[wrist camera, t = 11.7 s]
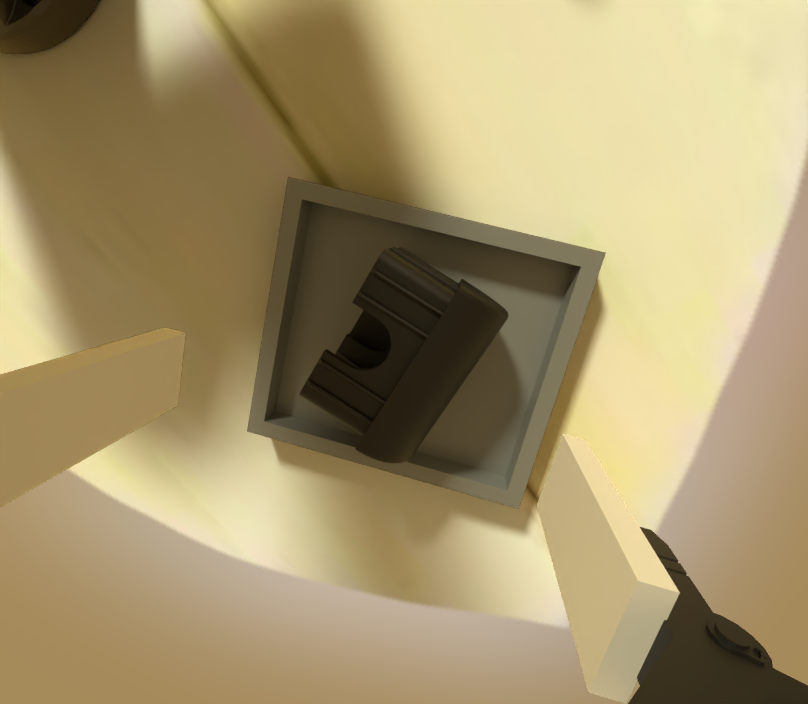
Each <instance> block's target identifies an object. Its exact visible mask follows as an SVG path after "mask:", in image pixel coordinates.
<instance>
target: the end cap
mask: <svg viewBox="0 0 808 704" xmlns="http://www.w3.org/2000/svg"><path fill="white" fill-rule="evenodd" d="M352 303H353V304H355V305H357V306H358V307H360V308H361V309H363V312H362V314H361V315H360V317H359V319H358V320H357V322H356V324H355V325H354V327H353V329H352V331H351V332H350V334H347V335H346V336H345V338H344V340H343V341H342V343H341V345H340V346H339V348H338V350H337V352H336V353H335V354H334V353H332V352H331V351H329V350H328V349H326V350H325V351H324V352H323V354H322V355H321V357H320V359H319V360H318V362H317V364H316V366H315V367H314V369H313V371H312V372H311V374H310V376H309V378H308V379H307V381H306V383H305V384H304V386H303V388H302V390H301V392H300V394H299V395H300V396H302V397H303V398H305V399H306V400H308V401H310V402H311V403H313V404H314V405H316V406H317V407H319V408H321V409H322V410H324V411H325V412H327V413H328V414H330V415H332V416H333V417H335V418H336V419H338V420H340V421H341V422H343V423H344V424H346V425H347V426H349V427H351V428H352V429H354V430H355V431H357V432H358V433H360V434H362V435H363V436H362V438H361V440H360V441H359V443H358V445H357V447H356V448H355V450H356V451H358V452H360V453H362V454H363V455H365V456H368V457H370V458H372V459H374V460H378V461H381V462H385V463H391V464H394V463H403V462H406V461H408V460H409V459H410V458H411V457H412V456H413V455H414V453H415V452H416V450H417V449H418V447H419V446H420V444H421V443H422V442H423V440H424V439H425V437H426V436H427V434H428V433H429V431H430V430H431V429H432V427H433V426H434V424H435V423H436V421H437V420H438V419H439V417H440V416H441V414H442V413H443V411H444V410H445V408H446V407H447V406H448V404H449V403H450V401H451V400H452V398H453V397H454V395H455V394H456V393H457V391H458V390H459V388H460V387H461V385H462V384H463V382H464V381H465V380H466V378H467V377H468V375H469V374H470V372H471V371H472V369H473V368H474V367H475V365H476V364H477V362H478V361H479V359H480V358H481V356H482V355H483V354H484V352H485V351H486V349H487V348H488V346H489V345H490V343H491V342H492V341H493V339H494V338H495V336H496V335H497V333H498V332H499V331H500V329H501V328H502V326H503V325H504V323H505V322H506V320H507V319H508V312H507V310H506V309H505V308H503V307H502V306H501V305H500V304H499V303H497V302H496V301H495V300H493V299H492V298H490V297H489V296H488V295H486V294H485V293H483V292H482V291H480V290H479V289H477V288H476V287H474V286H473V285H471V284H470V283H468V282H467V281H465V280H464V279H461V281H460V282H459V284H458V283H457V282H455V281H454V280H452V279H451V278H449V277H447V276H446V275H444V274H443V273H441V272H440V271H438V270H436V269H435V268H433V267H432V266H430V265H429V264H427V263H425V262H424V261H422V260H421V259H419V258H418V257H416V256H415V255H413V254H411V253H410V252H408V251H407V250H405V249H404V248H402V247H399V248H396V247H392V248H386V249H384V250H383V252H382V253H381V254H380V256H379V257H378V259H377V261H376V262H375V264H374V266H373V268H372V269H371V271H370V273H369V274H368V276H367V278H366V280H365V281H364V283H363V285H362V286H361V288H360V290H359V292H358V293H357V295H356V297H355V298H354V300H353V302H352Z"/></svg>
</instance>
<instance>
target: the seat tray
mask: <svg viewBox="0 0 808 704" xmlns="http://www.w3.org/2000/svg"><path fill="white" fill-rule="evenodd" d="M392 247H396V248H399V247H402V248H404V249H405V250H407V251H408V252H410V253H411V254H413V255H415V256H416V257H418V258H419V259H421V260H422V261H424V262H425V263H427V264H429V265H430V266H432V267H433V268H435V269H436V270H438V271H440V272H441V273H443V274H444V275H446V276H447V277H449V278H451V279H452V280H454V281H455V282H457V283H458V284H459V282H460V281H461V279H464V280H465V281H467V282H468V283H470V284H471V285H473V286H474V287H476V288H477V289H479V290H480V291H482V292H483V293H485V294H486V295H488V296H489V297H490V298H492V299H493V300H495V301H496V302H497V303H499V304H500V305H501V306H502V307H503V308H505V309H506V310H507V312H508V319H507V320H506V322H505V323H504V325H503V326H502V328H501V329H500V331H499V332H498V333H497V335H496V336H495V338H494V339H493V341H492V342H491V343H490V345H489V346H488V348H487V349H486V351H485V352H484V354H483V355H482V356H481V358H480V359H479V361H478V362H477V364H476V365H475V367H474V368H473V369H472V371H471V372H470V374H469V375H468V377H467V378H466V380H465V381H464V382H463V384H462V385H461V387H460V388H459V390H458V391H457V393H456V394H455V395H454V397H453V398H452V400H451V401H450V403H449V404H448V406H447V407H446V408H445V410H444V411H443V413H442V414H441V416H440V417H439V419H438V420H437V421H436V423H435V424H434V426H433V427H432V429H431V430H430V431H429V433H428V434H427V436H426V437H425V439H424V440H423V442H422V443H421V444H420V446H419V447H418V449H417V450H416V452H415V453H414V455H413V456H412V457H411V458H410V459H409V460H408V461H406V462H403V463H394V464H391V463H385V462H381V461H378V460H374V459H372V458H370V457H368V456H365V455H363V454H362V453H360V452H358V451H356V450H355V448H356V447H357V445H358V443H359V441H360V440H361V438H362V436H363V435H362V434H360V433H358V432H357V431H355V430H354V429H352V428H351V427H349V426H347V425H346V424H344V423H343V422H341V421H340V420H338V419H336V418H335V417H333V416H332V415H330V414H328V413H327V412H325V411H324V410H322V409H321V408H319V407H317V406H316V405H314V404H313V403H311V402H310V401H308V400H306V399H305V398H303V397H302V396H300V395H299V394H300V392H301V390H302V388H303V386H304V384H305V383H306V381H307V379H308V378H309V376H310V374H311V372H312V371H313V369H314V367H315V366H316V364H317V362H318V360H319V359H320V357H321V355H322V354H323V352H324V351H325V350H326V349H328V350H329V351H331V352H332V353H334V354H335V353H336V352H337V350H338V348H339V346H340V345H341V343H342V341H343V340H344V338H345V336H346V335H347V334H350V332H351V331H352V329H353V327H354V325H355V324H356V322H357V320H358V319H359V317H360V315H361V314H362V312H363V309H361V308H360V307H358V306H357V305H355V304H353V303H352V302H353V300H354V298H355V297H356V295H357V293H358V292H359V290H360V288H361V286H362V285H363V283H364V281H365V280H366V278H367V276H368V274H369V273H370V271H371V269H372V268H373V266H374V264H375V262H376V261H377V259H378V257H379V256H380V254H381V253H382V252H383V250H384V249H386V248H392ZM604 256H605V252H600V251H596V250H592V249H588V248H584V247H579V246H575V245H571V244H567V243H563V242H558V241H554V240H550V239H546V238H542V237H538V236H533V235H529V234H525V233H521V232H517V231H512V230H508V229H504V228H500V227H496V226H491V225H487V224H483V223H479V222H475V221H471V220H466V219H462V218H458V217H454V216H450V215H445V214H441V213H437V212H433V211H429V210H424V209H420V208H416V207H412V206H408V205H404V204H399V203H395V202H391V201H387V200H383V199H378V198H374V197H370V196H366V195H362V194H357V193H353V192H349V191H345V190H341V189H336V188H332V187H328V186H324V185H320V184H316V183H311V182H307V181H303V180H299V179H295V178H290V177H288V181H287V187H286V194H285V200H284V206H283V212H282V218H281V225H280V231H279V237H278V243H277V249H276V256H275V262H274V268H273V274H272V280H271V287H270V293H269V299H268V305H267V311H266V318H265V324H264V330H263V336H262V342H261V349H260V355H259V361H258V367H257V374H256V380H255V386H254V392H253V398H252V405H251V411H250V417H249V423H248V429H247V431H248V432H251V433H255V434H258V435H262V436H265V437H269V438H272V439H276V440H279V441H283V442H286V443H290V444H293V445H297V446H300V447H304V448H307V449H311V450H314V451H318V452H321V453H325V454H328V455H332V456H335V457H339V458H342V459H346V460H349V461H353V462H356V463H360V464H363V465H367V466H370V467H374V468H377V469H381V470H384V471H388V472H391V473H395V474H398V475H402V476H405V477H409V478H412V479H416V480H419V481H423V482H426V483H430V484H433V485H437V486H440V487H444V488H447V489H451V490H454V491H458V492H461V493H465V494H468V495H472V496H475V497H479V498H482V499H486V500H489V501H493V502H496V503H500V504H503V505H507V506H510V507H514V508H517V509H519V506H520V503H521V500H522V497H523V494H524V492H525V489H526V486H527V483H528V480H529V477H530V474H531V471H532V468H533V465H534V462H535V459H536V456H537V453H538V450H539V447H540V445H541V442H542V439H543V436H544V433H545V430H546V427H547V424H548V421H549V418H550V415H551V412H552V409H553V406H554V403H555V400H556V397H557V395H558V392H559V389H560V386H561V383H562V380H563V377H564V374H565V371H566V368H567V365H568V362H569V359H570V356H571V353H572V350H573V348H574V345H575V342H576V339H577V336H578V333H579V330H580V327H581V324H582V321H583V318H584V315H585V312H586V309H587V306H588V303H589V301H590V298H591V295H592V292H593V289H594V286H595V283H596V280H597V277H598V274H599V271H600V268H601V265H602V262H603V259H604Z"/></svg>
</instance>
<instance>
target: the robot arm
mask: <svg viewBox="0 0 808 704" xmlns="http://www.w3.org/2000/svg"><path fill="white" fill-rule="evenodd" d="M98 1H99V0H0V52H3V53H11V54H25V53H33V52H38V51H41V50H44V49H47V48H50V47H52V46H54V45H56V44H58V43H60V42H61V41H63V40H65V39H66V38H68V37H69V36H70V35H71V34H73V33H74V32H75V31H76V30H77V29H78V28H79V27H80V26H81V25H82V24H83V23H84V22H85V20H86V19H87V18H88V17H89V15H90V14H91V13H92V11H93V9H94V8H95V6H96V5H97V3H98ZM185 337H186V333H185V332H181V331H177V330H173V329H170V328H166V327H165V328H161V329H158V330H154V331H151V332H147V333H144V334H140V335H137V336H133V337H130V338H126V339H123V340H119V341H116V342H112V343H109V344H105V345H102V346H98V347H95V348H91V349H88V350H84V351H81V352H78V353H74V354H71V355H67V356H64V357H60V358H57V359H53V360H50V361H46V362H43V363H39V364H36V365H32V366H29V367H25V368H22V369H18V370H15V371H11V372H8V373H4V374H1V375H0V507H2V506H4V505H5V504H7V503H9V502H11V501H12V500H14V499H16V498H18V497H19V496H21V495H23V494H25V493H26V492H28V491H30V490H32V489H33V488H35V487H37V486H39V485H40V484H42V483H44V482H46V481H47V480H49V479H51V478H53V477H54V476H56V475H57V474H59V473H61V472H63V471H65V470H66V469H68V468H70V467H72V466H73V465H75V464H77V463H79V462H80V461H82V460H84V459H86V458H87V457H89V456H91V455H93V454H94V453H96V452H98V451H100V450H101V449H103V448H105V447H107V446H108V445H110V444H112V443H114V442H115V441H117V440H119V439H121V438H122V437H124V436H126V435H128V434H129V433H131V432H133V431H134V430H136V429H138V428H140V427H141V426H143V425H145V424H147V423H148V422H150V421H152V420H154V419H155V418H157V417H159V416H161V415H162V414H164V413H166V412H168V411H169V410H171V409H173V408H175V407H176V406H178V401H179V392H180V383H181V373H182V364H183V355H184V346H185ZM537 508H538V512H539V515H540V519H541V523H542V526H543V530H544V534H545V537H546V541H547V544H548V548H549V552H550V555H551V559H552V563H553V566H554V570H555V573H556V577H557V581H558V584H559V588H560V592H561V595H562V599H563V602H564V606H565V610H566V613H567V617H568V621H569V624H570V628H571V632H572V635H573V638H574V642H575V646H576V650H577V653H578V656H579V660H580V664H581V668H582V671H583V675H584V679H585V682H586V686H587V690H588V692H589V693H593V694H596V695H599V696H602V697H606V698H609V699H613V700H615V701H619V702H622V703H625V704H627V702H628V700H629V697H630V695H631V693H632V691H633V689H634V687H635V685H636V683H637V681H638V682H639V684H640V687H639V689H638V690H637V692H636V693H635V694H634V696H633V698H632V699H631V700H630V702H629V703H628V704H808V686H807V685H806V684H804V683H801V682H799V681H798V680H795V679H794V678H792V677H790V676H787V675H785V674H783V673H781V672H779V671H777V670H776V669H774V668H773V666H772V660H771V658H770V657H769V655H768V653H767V652H766V650H765V649H764V648H763V646H762V645H761V644H760V643H759V642H758V641H757V640H755V638H754V637H753V636H752V635H750V634H749V633H748V632H746V631H745V630H744V629H742V628H741V627H740V626H739V625H737V624H735V623H734V622H732V621H730V620H728V619H726V618H724V617H723V616H721V615H718V614H715V613H713V612H712V610H711V609H710V607H709V606H708V604H707V603H706V601H705V600H704V599H703V597H702V596H701V594H700V593H699V591H698V589H697V588H696V587H695V585H694V584H693V582H692V581H691V579H690V578H689V577H688V576H686V572H685V570H684V569H683V567H682V566H681V564H679V563H678V560H677V558H676V557H675V555H674V554H673V552H672V551H671V549H670V548H669V546H668V545H667V544H666V543H665V542H664V541H663V540H661V539H660V538H659V537H658V536H657V535H656V534H655V533H654V532H653V531H652V530H649V529H645V528H642V527H639V525H638V524H637V522H636V521H635V519H634V517H633V516H632V514H631V512H630V511H629V509H628V508H627V506H626V504H625V503H624V501H623V499H622V498H621V496H620V494H619V493H618V491H617V490H616V488H615V486H614V485H613V483H612V481H611V480H610V478H609V477H608V475H607V473H606V472H605V470H604V468H603V467H602V465H601V464H600V462H599V460H598V459H597V457H596V455H595V454H594V452H593V451H592V449H591V447H590V446H589V444H588V442H587V441H586V440H585V439H581V438H577V437H573V436H570V435H566V434H562V437H561V439H560V442H559V445H558V448H557V451H556V453H555V456H554V459H553V462H552V465H551V467H550V470H549V473H548V476H547V479H546V481H545V484H544V487H543V490H542V493H541V495H540V498H539V501H538V504H537Z"/></svg>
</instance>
